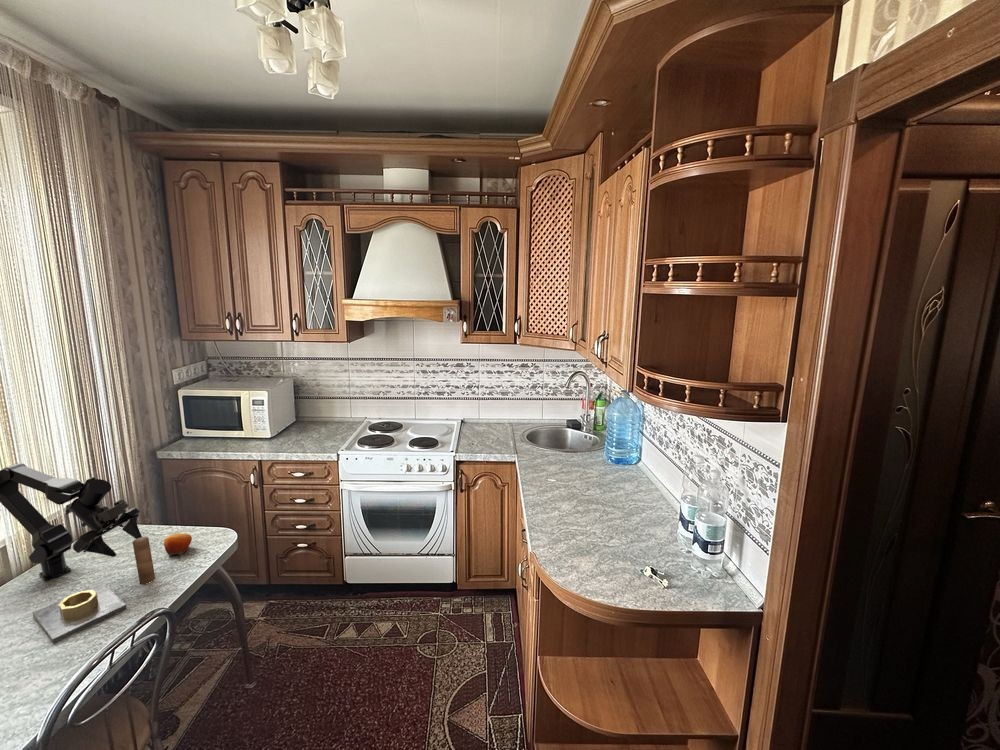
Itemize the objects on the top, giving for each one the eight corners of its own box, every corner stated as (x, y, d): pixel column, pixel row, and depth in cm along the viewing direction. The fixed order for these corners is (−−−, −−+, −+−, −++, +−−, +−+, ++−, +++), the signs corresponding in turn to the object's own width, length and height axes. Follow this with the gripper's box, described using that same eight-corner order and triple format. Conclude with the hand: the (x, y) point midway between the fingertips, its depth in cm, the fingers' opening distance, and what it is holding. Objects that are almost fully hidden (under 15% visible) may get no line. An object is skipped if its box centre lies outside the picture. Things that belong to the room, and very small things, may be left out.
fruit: (158, 559, 159) (160, 534, 162) (168, 559, 166) (169, 535, 169) (185, 555, 161) (187, 530, 164) (194, 555, 169) (195, 531, 171)
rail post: (137, 581, 150) (130, 541, 147) (152, 575, 153) (145, 535, 150) (142, 586, 148) (135, 545, 145) (157, 579, 151) (150, 539, 148)
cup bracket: (33, 617, 134) (30, 603, 133) (103, 587, 147) (101, 574, 146) (53, 644, 124) (50, 629, 123) (126, 609, 137) (124, 595, 136)
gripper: (73, 511, 137) (114, 548, 138) (130, 484, 155) (166, 516, 156) (55, 535, 139) (95, 571, 140) (113, 505, 158) (148, 537, 159)
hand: (128, 547), depth 149 cm, fingers open, 9 cm apart
